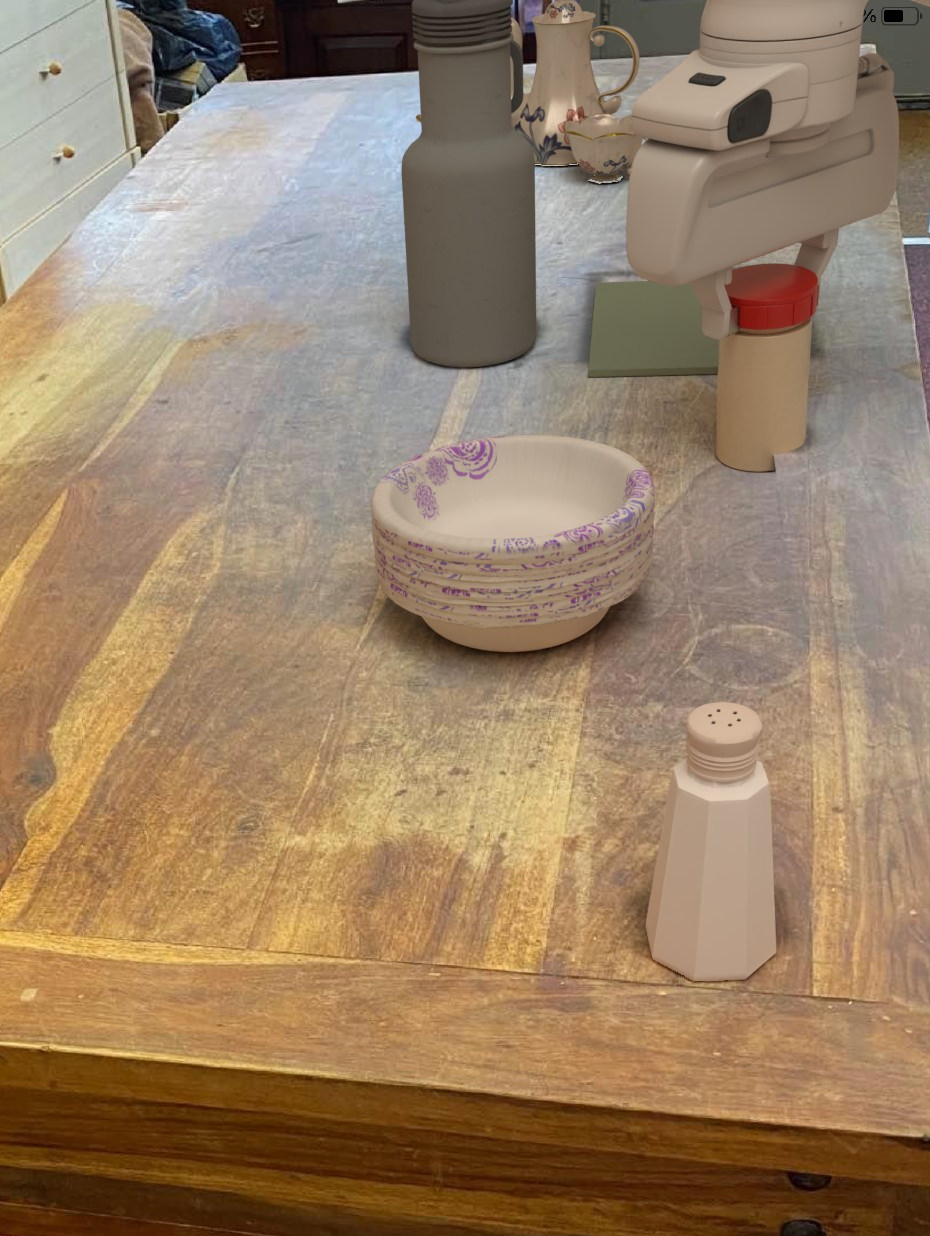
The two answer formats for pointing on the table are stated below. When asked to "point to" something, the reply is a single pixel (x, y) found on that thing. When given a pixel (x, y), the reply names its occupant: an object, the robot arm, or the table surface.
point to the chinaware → (574, 97)
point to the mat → (648, 331)
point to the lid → (773, 295)
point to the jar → (762, 395)
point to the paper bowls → (514, 538)
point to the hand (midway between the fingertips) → (760, 319)
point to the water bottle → (469, 190)
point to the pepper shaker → (715, 853)
